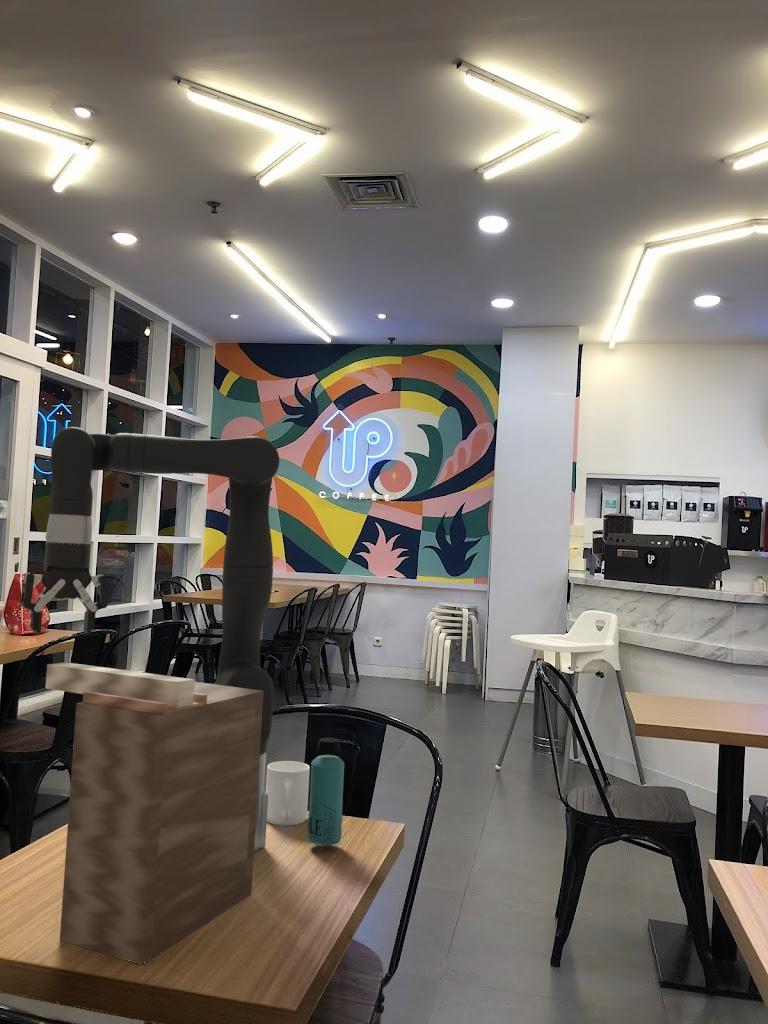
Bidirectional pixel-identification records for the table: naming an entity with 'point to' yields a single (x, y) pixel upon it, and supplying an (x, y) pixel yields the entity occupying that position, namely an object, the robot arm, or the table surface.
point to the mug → (287, 792)
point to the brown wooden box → (159, 817)
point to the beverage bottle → (326, 795)
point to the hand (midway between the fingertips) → (62, 633)
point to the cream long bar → (120, 683)
